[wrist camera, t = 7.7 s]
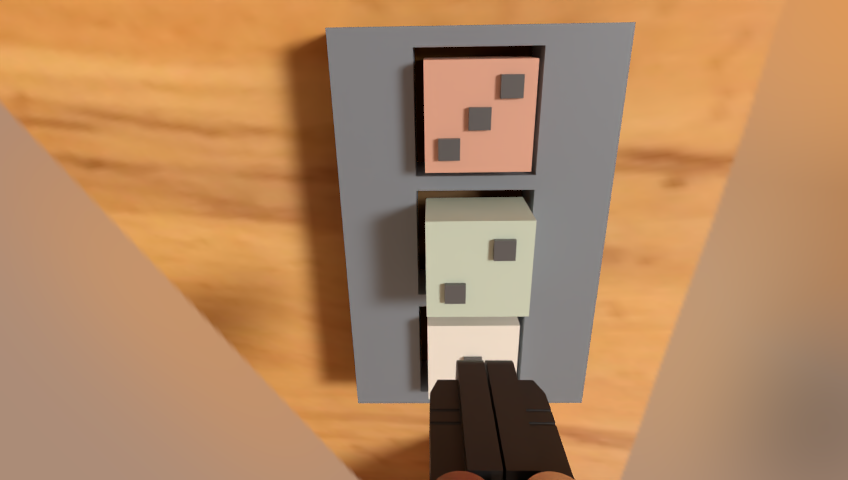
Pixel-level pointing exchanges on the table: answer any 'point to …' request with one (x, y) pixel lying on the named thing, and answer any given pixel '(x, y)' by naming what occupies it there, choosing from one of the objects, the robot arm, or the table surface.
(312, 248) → the table surface
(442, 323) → the tile one cream
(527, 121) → the tile three terracotta
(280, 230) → the table surface
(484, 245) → the tile two sage
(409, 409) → the table surface
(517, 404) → the robot arm
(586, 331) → the slate board
